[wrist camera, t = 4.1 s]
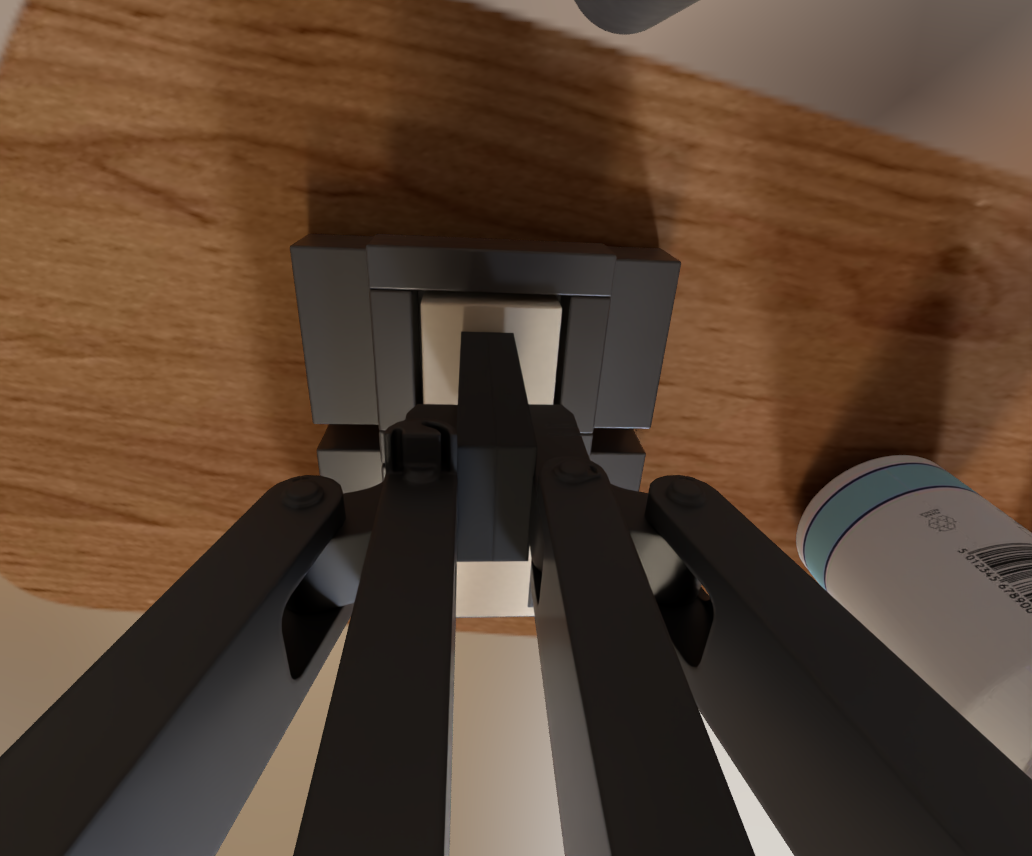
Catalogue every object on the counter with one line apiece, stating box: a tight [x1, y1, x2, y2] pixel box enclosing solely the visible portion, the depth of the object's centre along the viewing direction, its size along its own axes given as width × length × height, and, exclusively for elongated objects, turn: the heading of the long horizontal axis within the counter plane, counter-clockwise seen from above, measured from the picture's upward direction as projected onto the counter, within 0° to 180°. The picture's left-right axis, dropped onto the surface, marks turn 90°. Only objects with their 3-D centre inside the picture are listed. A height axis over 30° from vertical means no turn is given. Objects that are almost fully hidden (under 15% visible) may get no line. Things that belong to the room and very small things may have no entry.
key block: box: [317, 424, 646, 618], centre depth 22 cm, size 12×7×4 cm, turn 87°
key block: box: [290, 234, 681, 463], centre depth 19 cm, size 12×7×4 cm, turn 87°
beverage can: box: [796, 455, 1032, 779], centre depth 20 cm, size 7×7×12 cm
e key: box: [456, 547, 534, 617], centre depth 20 cm, size 4×4×2 cm
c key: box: [421, 290, 562, 405], centre depth 17 cm, size 4×4×2 cm
